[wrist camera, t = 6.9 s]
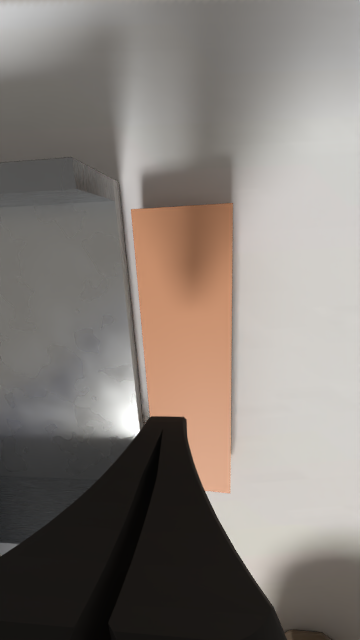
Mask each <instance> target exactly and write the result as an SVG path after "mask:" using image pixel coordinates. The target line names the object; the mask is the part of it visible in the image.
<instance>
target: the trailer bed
mask: <svg viewBox="0 0 360 640" xmlns="http://www.w3.org/2000/svg"><path fill="white" fill-rule="evenodd" d="M142 427H143V418H142V408H141V398H140V388H139V379H138V369H137V359H136V349H135V339H134V329H133V319H132V309H131V299H130V289H129V280H128V270H127V260H126V250H125V240H124V230H123V220H122V210H121V200H120V190H119V182H118V181H116V180H114V179H112V178H110V177H108V176H106V175H104V174H103V173H101V172H99V171H97V170H95V169H93V168H91V167H89V166H87V165H86V164H84V163H82V162H80V161H78V160H76V159H74V158H72V157H68V158H55V159H42V160H29V161H16V162H3V163H0V555H3V554H5V553H6V552H8V551H9V550H11V549H13V548H14V547H15V546H17V545H18V544H20V543H21V542H23V541H24V540H26V539H27V538H28V537H30V536H31V535H33V534H34V533H35V532H37V531H38V530H39V529H41V528H42V527H44V526H45V525H46V524H48V523H49V522H50V521H51V520H53V519H54V518H55V517H56V516H58V515H59V514H60V513H61V512H62V511H64V510H65V509H66V508H67V507H69V506H70V505H71V504H72V503H73V502H74V501H76V500H77V499H78V498H79V497H80V496H81V495H82V494H83V493H84V492H86V491H87V490H88V489H89V488H90V487H91V486H92V485H93V484H94V483H95V482H96V481H97V480H98V479H99V478H100V477H101V476H102V475H103V474H104V473H105V472H106V471H107V470H108V468H109V467H110V466H111V465H112V464H113V463H114V462H115V461H116V460H117V459H118V457H119V456H120V455H121V454H122V453H123V452H124V450H125V449H126V448H127V447H128V445H129V444H130V443H131V442H132V441H133V439H134V438H135V437H136V435H137V434H138V433H139V431H140V430H141V429H142Z"/></svg>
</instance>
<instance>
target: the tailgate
mask: <svg viewBox="0 0 360 640" xmlns="http://www.w3.org/2000/svg"><path fill="white" fill-rule="evenodd" d="M131 215H132V226H133V237H134V248H135V259H136V270H137V280H138V291H139V302H140V313H141V324H142V335H143V346H144V357H145V368H146V379H147V390H148V401H149V412H150V417H151V416H171V417H184V418H186V419H187V438H188V443H189V447H190V450H191V454H192V457H193V461H194V464H195V467H196V470H197V472H198V475H199V478H200V481H201V483H202V485H203V488H204V490H205V491H213V492H222V493H230V461H231V343H232V225H233V203H225V204H209V205H193V206H177V207H161V208H146V209H131Z"/></svg>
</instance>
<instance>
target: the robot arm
mask: <svg viewBox="0 0 360 640" xmlns="http://www.w3.org/2000/svg"><path fill="white" fill-rule="evenodd" d="M0 640H287V638H286V636H285V633H284V631H283V628H282V626H281V624H280V621H279V619H278V616H277V614H276V612H275V609H274V607H273V606H272V604H271V603H270V601H269V600H268V598H267V597H266V596H265V594H264V593H263V591H262V590H261V588H260V587H259V586H258V584H257V583H256V581H255V580H254V578H253V577H252V575H251V574H250V572H249V571H248V569H247V567H246V566H245V564H244V563H243V561H242V560H241V558H240V556H239V555H238V553H237V552H236V550H235V548H234V546H233V545H232V543H231V541H230V539H229V538H228V536H227V534H226V532H225V531H224V529H223V527H222V525H221V523H220V522H219V520H218V518H217V516H216V514H215V512H214V510H213V508H212V506H211V504H210V501H209V499H208V497H207V495H206V493H205V490H204V488H203V485H202V483H201V481H200V478H199V475H198V472H197V470H196V467H195V464H194V461H193V457H192V454H191V450H190V447H189V443H188V438H187V419H186V418H184V417H171V416H151V417H150V418H149V419H148V421H147V422H146V423H145V425H144V426H143V427H142V429H141V430H140V431H139V433H138V434H137V435H136V437H135V438H134V439H133V441H132V442H131V443H130V444H129V445H128V447H127V448H126V449H125V450H124V452H123V453H122V454H121V455H120V456H119V457H118V459H117V460H116V461H115V462H114V463H113V464H112V465H111V466H110V467H109V468H108V470H107V471H106V472H105V473H104V474H103V475H102V476H101V477H100V478H99V479H98V480H97V481H96V482H95V483H94V484H93V485H92V486H91V487H90V488H89V489H88V490H87V491H86V492H84V493H83V494H82V495H81V496H80V497H79V498H78V499H77V500H76V501H74V502H73V503H72V504H71V505H70V506H69V507H67V508H66V509H65V510H64V511H62V512H61V513H60V514H59V515H58V516H56V517H55V518H54V519H53V520H51V521H50V522H49V523H48V524H46V525H45V526H44V527H42V528H41V529H39V530H38V531H37V532H35V533H34V534H33V535H31V536H30V537H28V538H27V539H26V540H24V541H23V542H21V543H20V544H18V545H17V546H15V547H14V548H13V549H11V550H9V551H8V552H6V553H5V554H3V555H2V556H0Z"/></svg>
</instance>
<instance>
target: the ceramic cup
mask: <svg viewBox="0 0 360 640" xmlns="http://www.w3.org/2000/svg"><path fill="white" fill-rule="evenodd" d="M285 636H286V638H287V640H331V639H330V638H329V637H328V636H326V635H325V634H323V633H321V632H311V631H299V630H290V631H287V632H285Z"/></svg>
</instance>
